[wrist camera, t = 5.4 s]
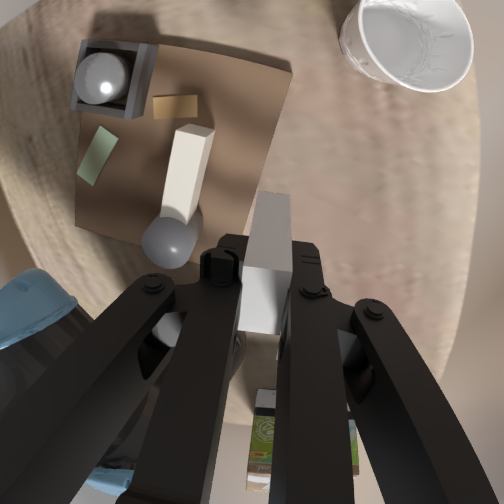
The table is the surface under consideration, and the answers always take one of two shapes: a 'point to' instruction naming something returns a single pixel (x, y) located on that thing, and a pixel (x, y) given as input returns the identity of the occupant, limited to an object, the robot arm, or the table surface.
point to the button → (103, 77)
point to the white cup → (409, 42)
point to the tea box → (264, 442)
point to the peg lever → (180, 200)
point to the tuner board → (162, 136)
